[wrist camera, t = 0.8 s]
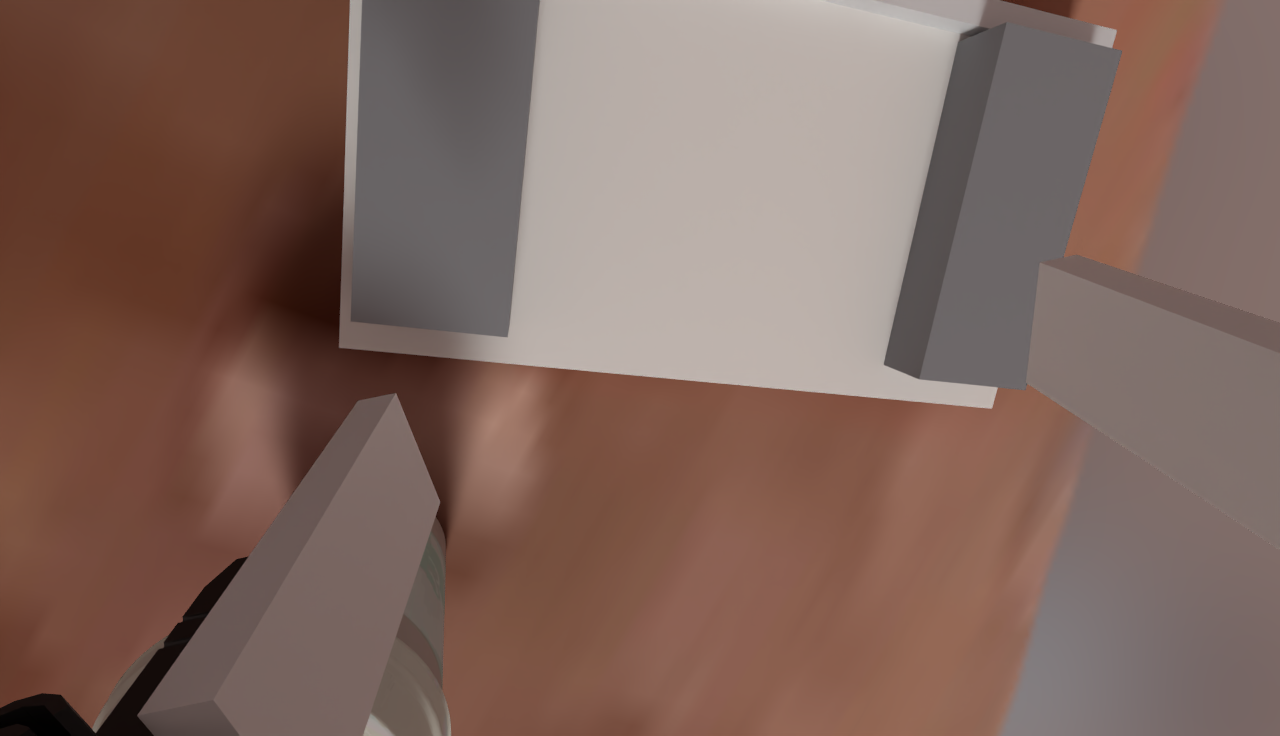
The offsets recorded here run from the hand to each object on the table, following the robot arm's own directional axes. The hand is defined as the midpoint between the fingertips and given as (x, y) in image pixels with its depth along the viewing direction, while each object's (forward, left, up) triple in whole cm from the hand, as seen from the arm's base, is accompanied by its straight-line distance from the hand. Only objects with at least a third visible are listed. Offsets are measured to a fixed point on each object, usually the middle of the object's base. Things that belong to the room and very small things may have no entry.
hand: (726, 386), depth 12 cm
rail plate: (-1, +6, -13) cm, 15 cm away
